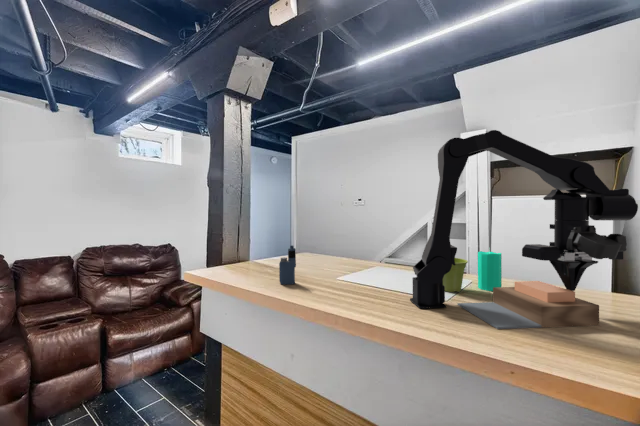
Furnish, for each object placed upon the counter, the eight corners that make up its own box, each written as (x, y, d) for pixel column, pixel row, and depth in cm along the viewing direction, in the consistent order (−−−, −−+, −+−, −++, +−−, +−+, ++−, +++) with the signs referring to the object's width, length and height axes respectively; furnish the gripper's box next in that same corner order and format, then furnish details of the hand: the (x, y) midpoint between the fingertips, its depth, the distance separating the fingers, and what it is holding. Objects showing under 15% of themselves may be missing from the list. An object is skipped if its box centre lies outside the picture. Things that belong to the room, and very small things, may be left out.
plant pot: (469, 288, 83) (469, 258, 83) (466, 296, 75) (466, 263, 75) (435, 283, 88) (435, 256, 88) (429, 291, 80) (429, 260, 80)
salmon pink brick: (547, 302, 58) (547, 292, 58) (514, 290, 67) (514, 281, 67) (575, 301, 58) (575, 291, 58) (538, 289, 67) (538, 280, 67)
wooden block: (541, 327, 55) (541, 306, 55) (493, 303, 69) (493, 287, 69) (599, 325, 56) (599, 305, 56) (539, 302, 70) (539, 286, 70)
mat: (497, 328, 55) (497, 326, 55) (457, 304, 69) (457, 303, 69) (541, 327, 55) (541, 325, 55) (493, 303, 69) (493, 302, 69)
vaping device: (295, 284, 89) (295, 246, 88) (278, 284, 89) (278, 246, 89) (296, 282, 91) (296, 245, 91) (280, 282, 91) (279, 245, 91)
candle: (505, 291, 79) (505, 248, 79) (481, 290, 80) (481, 248, 80) (496, 286, 85) (496, 246, 85) (474, 285, 86) (474, 245, 86)
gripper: (565, 222, 54) (564, 303, 54) (655, 221, 55) (654, 301, 56) (520, 220, 65) (519, 287, 66) (596, 219, 67) (595, 286, 67)
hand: (570, 290), depth 63 cm, fingers closed
